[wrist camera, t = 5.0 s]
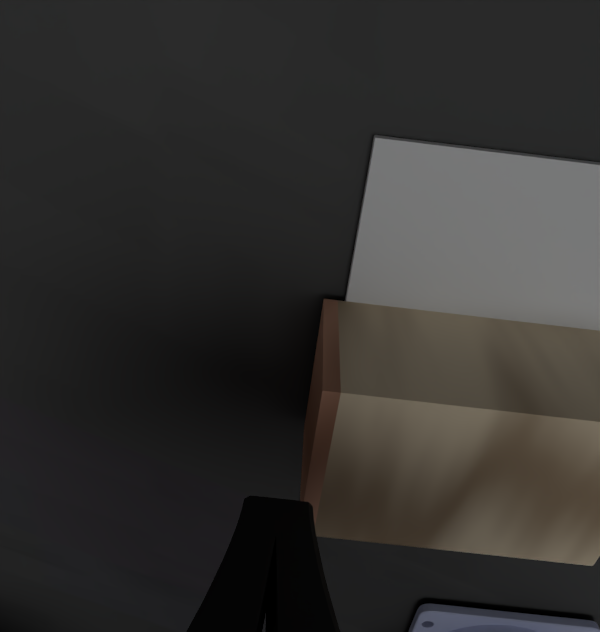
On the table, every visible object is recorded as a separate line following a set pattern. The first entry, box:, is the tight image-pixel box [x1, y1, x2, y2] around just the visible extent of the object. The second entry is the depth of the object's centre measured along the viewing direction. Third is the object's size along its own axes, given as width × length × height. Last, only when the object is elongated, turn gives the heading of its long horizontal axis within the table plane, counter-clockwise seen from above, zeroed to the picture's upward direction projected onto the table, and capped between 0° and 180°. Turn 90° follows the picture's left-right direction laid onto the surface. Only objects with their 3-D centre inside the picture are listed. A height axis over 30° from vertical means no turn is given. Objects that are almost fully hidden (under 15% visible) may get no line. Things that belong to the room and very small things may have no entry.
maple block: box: [300, 299, 600, 566], centre depth 14 cm, size 5×4×8 cm
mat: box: [345, 135, 600, 331], centre depth 16 cm, size 14×10×1 cm
